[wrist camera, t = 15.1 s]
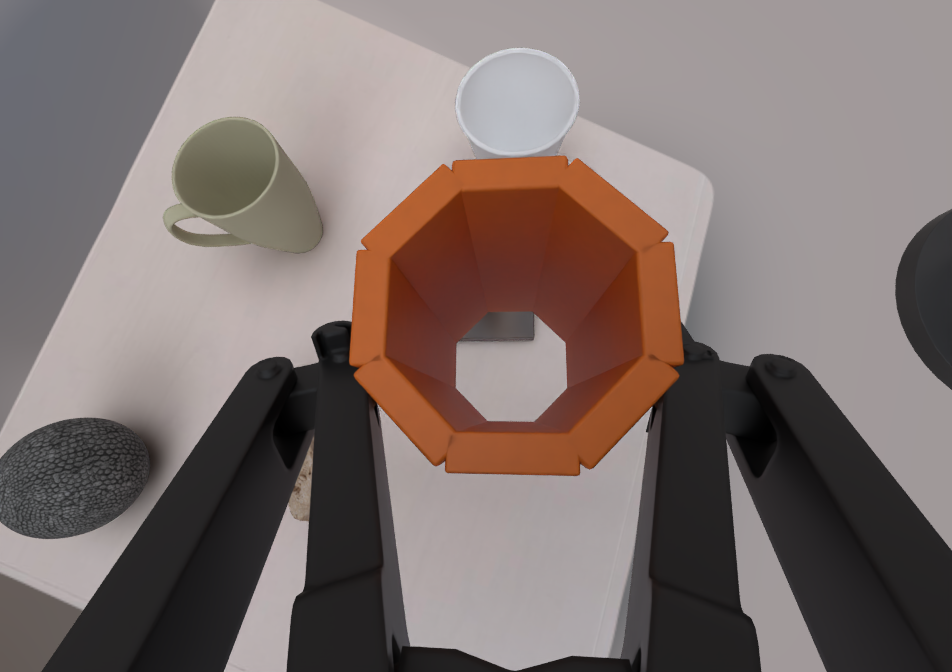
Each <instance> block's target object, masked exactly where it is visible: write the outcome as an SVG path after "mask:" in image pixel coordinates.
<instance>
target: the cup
mask: <svg viewBox="0 0 952 672" xmlns="http://www.w3.org/2000/svg"><path fill="white" fill-rule="evenodd" d="M579 103H580V100H579V89H578V86H577V83H576V80H575V78H574V77H573V75H572V73H571V71H570V70H569V69H568V68H567V67H566V66H565V65H564V64H563V63H562V62H561V61H560V60H558V59H557V58H556V57H554V56H552V55H550V54H548V53H546V52H544V51H540V50H536V49H531V48H510V49H505V50H502V51H497V52H495V53H493V54H491V55H488V56H486V57H485V58H483V59H482V60H480V61H479V62H477V63H476V64H475V65H474V66H473V67H472V68H471V69H470V70H469V71H468V72H467V74H466V75H465V76H464V78H463V79H462V81H461V83H460V85H459V88H458V90H457V95H456V99H455V112H456V116H457V121H458V123H459V125H460V127H461V129H462V131H463V132H464V134H465V135H466V136H467V138H468V140H469V143H470V145H471V148H472V150H473V152H474V154H475V157H476V159H498V158H520V157H543V156H556V155H557V152H558V150H559V148H560V146H561V144H562V142H563V139H564V137H565V135H566V134H567V133H568V131H569V130H570V128H571V127H572V125H573V124H574V121H575V119H576V117H577V114H578V109H579Z"/></svg>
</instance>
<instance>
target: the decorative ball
mask: <svg viewBox="0 0 952 672" xmlns="http://www.w3.org/2000/svg"><path fill="white" fill-rule="evenodd" d="M149 470H150V460H149V454H148V451H147V449H146V446H145V445H144V443H143V441H142V440H141V439H140V438H139V436H138V435H137V434H136V433H134V432H133V431H132V430H131V429H129V428H127V427H126V426H124V425H122V424H119V423H117V422H114V421H110V420H106V419H100V418H76V419H69V420H63V421H59V422H56V423H52V424H49V425H47V426H44V427H42V428H40V429H37V430H35V431H34V432H32V433H30V434H28V435H27V436H25V437H23V438H22V439H21V440H19V441H18V442H17V443H15V444H14V445H13V446H12V447H11V448H10V449H9V450H8V451H7V452H6V453H5V454H4V455H3V456H2V457H1V459H0V522H1V523H2V524H4V525H5V526H6V527H8V528H9V529H11V530H13V531H15V532H17V533H19V534H22V535H25V536H29V537H33V538H41V539H58V538H66V537H72V536H76V535H80V534H84V533H87V532H90V531H92V530H95V529H97V528H99V527H101V526H103V525H105V524H107V523H109V522H110V521H112V520H114V519H115V518H116V517H118V516H119V515H120V514H122V513H123V512H124V511H125V510H126V509H127V508H128V507H129V506H130V505H131V504H132V503H133V502H134V501H135V500H136V498H137V497H138V496H139V494H140V493H141V491H142V490H143V488H144V486H145V484H146V481H147V478H148V475H149Z"/></svg>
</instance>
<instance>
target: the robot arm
mask: <svg viewBox="0 0 952 672" xmlns="http://www.w3.org/2000/svg"><path fill="white" fill-rule="evenodd" d="M351 327H352V322H349V321H334V322H331V323H327V324H325V325H323V326H321V327H319V328H318V329H317V330H315V331H314V332H313V334H312V336H311V338H312V341H313V344H314V346H315V349H316V352H317V355H318V358H319V362H318V363H315V364H311V365H307V366H302V367H297V368H294V367H293V364H292V362H291V361H290V359H287V358H285V357H273V358H267V359H265V360H262V361H260V362H258V363H256V364H255V365H253V366H251V367H250V368H249V370H248V371H247V372H246V373H245V374H244V376H243V377H242V379H241V380H240V382H239V383H238V385H237V386H236V388H235V389H234V390H233V392H232V393H231V395H230V396H229V398H228V399H227V401H226V402H225V404H224V405H223V407H222V408H221V410H220V411H219V412H218V414H217V415H216V417H215V418H214V420H213V421H212V423H211V424H210V426H209V427H208V429H207V430H206V432H205V433H204V434H203V436H202V437H201V439H200V440H199V442H198V443H197V445H196V446H195V448H194V449H193V451H192V452H191V453H190V455H189V456H188V458H187V459H186V461H185V462H184V464H183V465H182V467H181V468H180V470H179V471H178V473H177V474H176V475H175V477H174V478H173V480H172V481H171V483H170V484H169V486H168V487H167V489H166V490H165V492H164V493H163V494H162V496H161V497H160V499H159V500H158V502H157V503H156V505H155V506H154V508H153V509H152V511H151V512H150V514H149V515H148V516H147V518H146V519H145V521H144V522H143V524H142V525H141V527H140V528H139V530H138V531H137V533H136V534H135V535H134V537H133V538H132V540H131V541H130V543H129V544H128V546H127V547H126V549H125V550H124V552H123V553H122V555H121V556H120V557H119V559H118V560H117V562H116V563H115V565H114V566H113V568H112V569H111V571H110V572H109V574H108V575H107V576H106V578H105V579H104V581H103V582H102V584H101V585H100V587H99V588H98V590H97V591H96V593H95V594H94V596H93V597H92V598H91V600H90V601H89V603H88V604H87V606H86V607H85V609H84V610H83V612H82V613H81V615H80V616H79V617H78V619H77V620H76V622H75V623H74V625H73V626H72V628H71V629H70V631H69V632H68V634H67V635H66V637H65V638H64V640H63V641H62V642H61V644H60V645H59V647H58V648H57V650H56V651H55V653H54V654H53V656H52V657H51V659H50V660H49V662H48V663H47V664H46V666H45V667H44V669H43V670H42V672H224V669H225V667H226V664H227V662H228V659H229V656H230V654H231V651H232V649H233V646H234V643H235V641H236V638H237V635H238V633H239V630H240V628H241V625H242V622H243V620H244V617H245V615H246V612H247V609H248V607H249V604H250V601H251V599H252V596H253V594H254V591H255V588H256V586H257V583H258V580H259V578H260V575H261V573H262V570H263V567H264V565H265V562H266V560H267V557H268V554H269V552H270V549H271V546H272V544H273V541H274V539H275V536H276V533H277V531H278V528H279V526H280V523H281V520H282V518H283V515H284V512H285V510H286V507H287V505H288V502H289V499H290V497H291V494H292V492H293V489H294V486H295V484H296V481H297V478H298V476H299V473H300V471H301V468H302V465H303V463H304V460H305V458H306V455H307V452H308V450H309V447H310V444H311V442H312V439H313V437H314V448H313V464H312V481H311V497H310V513H309V529H308V546H307V562H306V578H305V587H304V590H303V592H302V593H300V594H299V595H297V596H296V599H295V601H294V604H293V609H292V615H291V624H290V636H289V648H288V660H287V672H761V664H760V656H759V646H758V640H757V634H756V629H755V626H754V624H753V621H752V619H751V618H750V617H749V616H747V615H746V614H744V613H743V611H742V608H741V604H740V595H739V584H738V572H737V560H736V550H735V537H734V526H733V515H732V502H731V491H730V479H729V467H728V456H727V444H726V439H727V442H728V444H729V446H730V449H731V451H732V453H733V456H734V458H735V460H736V462H737V465H738V467H739V470H740V472H741V474H742V477H743V479H744V481H745V483H746V486H747V488H748V490H749V493H750V495H751V497H752V499H753V502H754V504H755V507H756V509H757V511H758V513H759V515H760V518H761V520H762V523H763V525H764V527H765V530H766V532H767V534H768V537H769V539H770V541H771V543H772V546H773V548H774V551H775V553H776V555H777V558H778V560H779V562H780V564H781V567H782V569H783V571H784V574H785V576H786V578H787V581H788V583H789V585H790V588H791V590H792V592H793V595H794V597H795V599H796V602H797V604H798V606H799V609H800V611H801V613H802V615H803V618H804V620H805V622H806V624H807V627H808V629H809V632H810V634H811V636H812V639H813V641H814V643H815V645H816V648H817V650H818V653H819V655H820V657H821V659H822V662H823V664H824V666H825V669H826V671H827V672H952V550H951V549H950V548H949V547H948V545H947V544H946V543H945V542H944V540H943V539H942V538H941V537H940V535H939V534H938V533H937V532H936V531H935V529H934V528H933V527H932V525H931V524H930V523H929V521H928V520H927V519H926V518H925V517H924V515H923V514H922V513H921V511H920V510H919V509H918V508H917V506H916V505H915V504H914V503H913V501H912V500H911V499H910V497H909V496H908V495H907V494H906V492H905V491H904V490H903V489H902V487H901V486H900V485H899V484H898V483H897V481H896V480H895V479H894V477H893V476H892V475H891V473H890V472H889V471H888V470H887V468H886V467H885V466H884V465H883V463H882V462H881V461H880V460H879V458H878V457H877V456H876V455H875V453H874V452H873V451H872V450H871V448H870V447H869V446H868V444H867V443H866V442H865V441H864V439H863V438H862V437H861V436H860V434H859V433H858V432H857V430H856V429H855V428H854V427H853V425H852V424H851V423H850V422H849V420H848V419H847V418H846V417H845V415H844V414H843V413H842V412H841V410H840V409H839V408H838V406H837V405H836V404H835V403H834V401H833V400H832V399H831V398H830V396H829V395H828V394H827V393H826V391H825V390H824V389H823V388H822V387H821V385H820V384H819V383H818V381H817V380H816V379H815V378H814V376H813V375H812V374H811V372H810V371H809V370H808V369H807V368H806V367H804V366H803V365H802V364H800V363H799V362H797V361H795V360H793V359H791V358H788V357H785V356H781V355H774V354H762V355H759V356H756V357H754V359H753V361H752V363H751V365H750V366H744V365H739V364H733V363H728V362H724V361H720V360H719V357H718V355H717V353H716V352H715V351H714V350H713V349H712V348H711V347H709V346H706V345H705V344H702V343H699V342H695V341H694V340H693V339H692V337H691V336H690V334H689V333H688V331H687V330H686V328H685V327H684V325H683V324H682V322H681V330H682V342H683V353H684V364H683V365H681V366H678V367H675V368H674V369H675V370H676V371H677V372H678V374H679V378H678V380H677V381H676V382H675V383H674V384H673V385H672V386H671V387H670V388H669V389H668V390H667V391H666V392H665V393H664V394H663V395H662V396H661V397H660V398H659V400H658V401H657V402H656V403H655V404H654V405H653V406H652V410H651V414H650V418H649V422H648V425H647V429H646V432H648V439H647V448H646V457H645V465H644V474H643V482H642V491H641V500H640V508H639V517H638V525H637V534H636V543H635V551H634V560H633V569H632V577H631V586H630V595H629V603H628V612H627V621H626V629H625V637H624V644H623V649H622V654H621V658H620V659H615V658H598V657H581V656H570V657H566V658H563V659H559V660H555V661H551V662H548V663H544V664H540V665H537V666H533V667H529V668H526V669H522V670H518V671H511V670H508V669H505V668H502V667H500V666H497V665H495V664H492V663H490V662H487V661H485V660H482V659H480V658H477V657H475V656H472V655H469V654H467V653H464V652H462V651H459V650H457V649H444V648H427V647H410V643H409V638H408V633H407V627H406V620H405V612H404V604H403V596H402V588H401V580H400V572H399V564H398V556H397V548H396V540H395V532H394V524H393V517H392V509H391V501H390V493H389V485H388V477H387V469H386V461H385V453H384V445H383V437H382V429H381V421H380V413H379V409H378V405H377V403H376V401H375V400H374V399H373V398H372V397H371V396H370V395H369V394H368V393H367V391H366V390H365V389H364V388H363V387H362V386H361V385H360V384H359V383H358V381H357V380H356V379H355V378H354V373H355V372H356V371H357V370H358V369H359V368H357V367H353V366H351V365H350V363H349V356H350V342H351Z"/></svg>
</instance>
